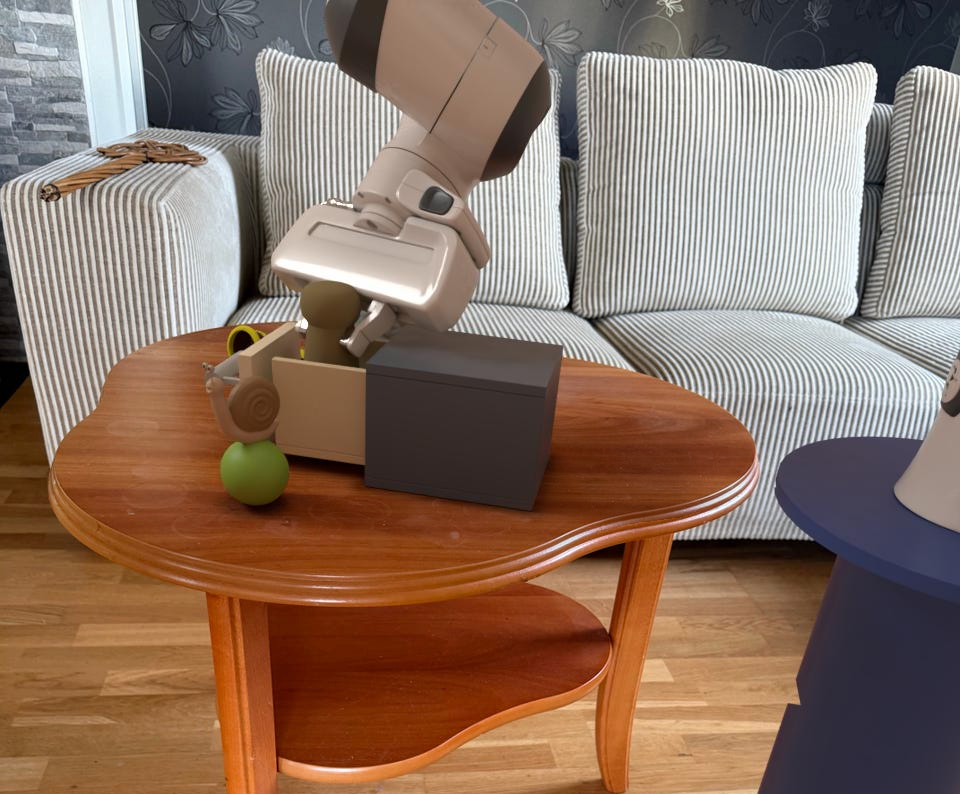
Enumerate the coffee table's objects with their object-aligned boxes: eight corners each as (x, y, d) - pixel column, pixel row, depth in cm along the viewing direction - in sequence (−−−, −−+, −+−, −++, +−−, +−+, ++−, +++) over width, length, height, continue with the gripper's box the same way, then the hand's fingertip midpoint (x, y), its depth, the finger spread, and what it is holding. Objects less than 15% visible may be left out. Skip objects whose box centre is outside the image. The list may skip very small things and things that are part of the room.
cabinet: (364, 486, 78) (365, 362, 73) (401, 436, 89) (405, 324, 83) (531, 511, 77) (546, 387, 71) (549, 457, 87) (563, 345, 82)
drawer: (197, 448, 80) (187, 347, 75) (249, 407, 90) (243, 315, 85) (393, 477, 78) (395, 376, 73) (424, 432, 88) (428, 339, 83)
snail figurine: (199, 502, 73) (183, 354, 67) (264, 483, 77) (256, 341, 71) (238, 526, 70) (226, 374, 64) (304, 504, 74) (299, 359, 68)
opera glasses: (307, 392, 100) (314, 346, 98) (265, 389, 97) (271, 342, 94) (265, 367, 106) (270, 324, 104) (223, 364, 103) (228, 319, 100)
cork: (332, 426, 79) (330, 295, 73) (284, 407, 81) (278, 280, 75) (379, 410, 83) (381, 285, 77) (332, 393, 86) (330, 271, 80)
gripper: (302, 170, 82) (225, 296, 81) (480, 205, 72) (395, 350, 71) (338, 219, 87) (266, 338, 86) (507, 258, 78) (429, 393, 76)
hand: (326, 344), depth 78 cm, fingers closed on cork, 4 cm apart
